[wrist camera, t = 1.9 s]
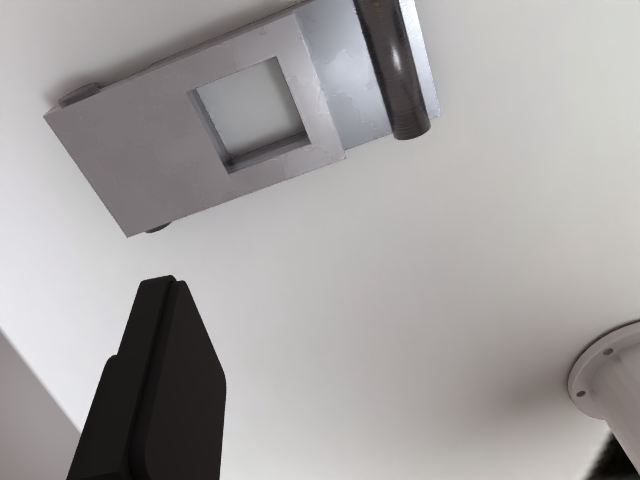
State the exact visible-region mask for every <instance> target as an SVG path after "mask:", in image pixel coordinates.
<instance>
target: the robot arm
mask: <svg viewBox="0 0 640 480" xmlns="http://www.w3.org/2000/svg"><path fill="white" fill-rule="evenodd" d="M568 391H569V394H570V396H571V398H572V400H573V401H574V403H575V405H576V406H577V408H578V409H580V410H581V411H582V412H583V413H585V414H587V415H589V416H590V417H594V418H597V419H601V420H605V421H606V422H607V424H608V426H609V427H610V429H611V430H612V432H613V433H614V435H615V437H616V438H617V440H618V441H619V443H620V445H621V446H622V448H623V449H624V451H625V452H626V454H627V456H628V457H629V459H630V460H631V462H632V463H633V465H634V467H635V468H636V470H637V471H638V473H639V474H640V322H638V323H634V324H631V325H627V326H625V327H622V328H620V329H618V330H615V331H613V332H611V333H610V334H608V335H606V336H604V337H603V338H601V339H600V340H598V341H597V342H596V343H594V344H593V345H592V346H590V347H589V348H588V349H587V350H586V351H585V352H584V353H583V354H582V355H581V356H580V358H579V359H578V360H577V362H576V363H575V364H574V366H573V368H572V370H571V373H570V375H569V380H568ZM225 402H226V379H225V374H224V371H223V369H222V366H221V364H220V362H219V359H218V357H217V355H216V352H215V350H214V347H213V345H212V343H211V340H210V338H209V336H208V333H207V331H206V328H205V326H204V324H203V321H202V319H201V316H200V314H199V312H198V309H197V307H196V305H195V302H194V300H193V297H192V295H191V293H190V290H189V288H188V286H187V284H186V282H185V281H183V280H182V281H176V279H175V278H174V276H172V275H168V276H163V277H158V278H152V279H147V280H143V281H141V283H140V285H139V288H138V291H137V294H136V297H135V300H134V303H133V306H132V309H131V313H130V316H129V319H128V322H127V325H126V328H125V331H124V334H123V338H122V341H121V344H120V347H119V350H118V353H117V355H113V356H111V357H110V358H109V359H108V360H107V362H106V364H105V366H104V369H103V372H102V375H101V378H100V381H99V384H98V387H97V390H96V393H95V396H94V399H93V402H92V405H91V408H90V411H89V414H88V417H87V420H86V423H85V425H84V428H83V431H82V434H81V437H80V440H79V443H78V446H77V449H76V452H75V455H74V458H73V461H72V464H71V467H70V470H69V473H68V476H67V479H66V480H219V478H220V466H221V453H222V440H223V427H224V414H225Z"/></svg>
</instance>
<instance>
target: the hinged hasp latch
mask: <svg viewBox="0 0 640 480" xmlns="http://www.w3.org/2000/svg"><path fill="white" fill-rule="evenodd" d="M275 56H276V57H277V60H278V62H279V64H280V67H281V69H282V72H283V74H284V77H285V79H286V82H287V84H288V87H289V89H290V92H291V94H292V97H293V99H294V102H295V104H296V107H297V109H298V112H299V114H300V117H301V119H302V122H303V124H304V127H305V129H306V131H305V132H302V133H299V134H297V135H294V136H291V137H289V138H286V139H283V140H281V141H278V142H275V143H273V144H270V145H267V146H265V147H262V148H259V149H257V150H254V151H251V152H249V153H246V154H243V155H241V156H238V157H235V158H233V159H231V158H230V156H229V154H228V152H227V150H226V148H225V146H224V144H223V142H222V140H221V138H220V136H219V134H218V132H217V130H216V128H215V126H214V124H213V122H212V120H211V118H210V116H209V114H208V112H207V110H206V108H205V106H204V104H203V102H202V100H201V98H200V96H199V94H198V92H197V90H196V88H197V87H200V86H202V85H205V84H207V83H210V82H212V81H215V80H217V79H220V78H222V77H225V76H227V75H230V74H233V73H235V72H238V71H240V70H243V69H245V68H248V67H250V66H253V65H255V64H258V63H260V62H263V61H265V60H268V59H270V58H273V57H275ZM58 103H59V104H60V106H57V107H55V108H53V109H50V110H49V111H48V112H47V113H46V114H45V115H44V116H43V117H44V118H45V120H46V121H47V123H48V124H49V126H50V127H51V129H52V130H53V131H54V133H55V134H56V136H57V137H58V139H59V140H60V141H61V143H62V144H63V146H64V147H65V149H66V150H67V152H68V153H69V154H70V156H71V157H72V159H73V160H74V162H75V163H76V164H77V166H78V167H79V169H80V170H81V172H82V173H83V175H84V176H85V177H86V179H87V180H88V182H89V183H90V185H91V186H92V188H93V189H94V190H95V192H96V193H97V195H98V196H99V198H100V199H101V200H102V202H103V203H104V205H105V206H106V208H107V209H108V211H109V212H110V213H111V215H112V216H113V218H114V219H115V221H116V222H117V223H118V225H119V226H120V228H121V229H122V231H123V232H124V234H125V235H126V236H127V238H128V237H131V236H133V235H136V234H139V233H142V232H145V233H153V232H156V231H159V230H161V229H163V228H165V227H166V226H168V225H169V224H170V223H171V222H172V221H175V220H177V219H180V218H183V217H186V216H188V215H191V214H194V213H197V212H199V211H202V210H205V209H208V208H210V207H213V206H216V205H219V204H221V203H224V202H227V201H230V200H232V199H235V198H238V197H241V196H243V195H246V194H249V193H252V192H254V191H257V190H260V189H263V188H265V187H268V186H271V185H274V184H276V183H279V182H282V181H285V180H288V179H290V178H293V177H296V176H299V175H301V174H304V173H307V172H310V171H312V170H315V169H318V168H321V167H323V166H326V165H329V164H332V163H334V162H337V161H340V160H343V159H345V158H346V156H345V152H344V150H347V149H350V148H353V147H355V146H358V145H361V144H364V143H366V142H369V141H372V140H374V139H377V138H380V137H383V136H385V135H388V134H391V133H393V135H394V138H396V139H398V140H409V139H413V138H416V137H419V136H421V135H423V134H424V133H426V132H427V131H428V130H429V129H430V127H431V124H430V121H429V119H432V118H435V117H437V116H440V115H441V112H440V108H439V104H438V99H437V95H436V91H435V87H434V83H433V79H432V74H431V70H430V66H429V62H428V58H427V53H426V49H425V45H424V41H423V37H422V33H421V28H420V24H419V20H418V16H417V12H416V8H415V3H414V0H307V1H304V2H302V3H299V4H297V5H294V6H292V7H290V8H287V9H285V10H282V11H280V12H277V13H275V14H273V15H270V16H268V17H265V18H263V19H260V20H258V21H256V22H253V23H251V24H248V25H246V26H243V27H241V28H239V29H236V30H234V31H231V32H229V33H226V34H224V35H222V36H219V37H217V38H214V39H212V40H209V41H207V42H205V43H202V44H200V45H197V46H195V47H192V48H190V49H188V50H185V51H183V52H180V53H178V54H175V55H173V56H171V57H168V58H166V59H163V60H161V61H158V62H156V63H154V64H152V65H151V66H150V67H149V69H148V70H145V71H143V72H140V73H138V74H135V75H133V76H131V77H128V78H126V79H123V80H121V81H118V82H116V83H113V84H111V85H109V86H106V87H104V88H101V89H99V88H98V86H97V84H96V83H92V84H89V85H86V86H84V87H81V88H79V89H77V90H75V91H73V92H71V93H69V94H67V95H66V96H64V97H62V98H61V99H60V100H59V101H58Z"/></svg>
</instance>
